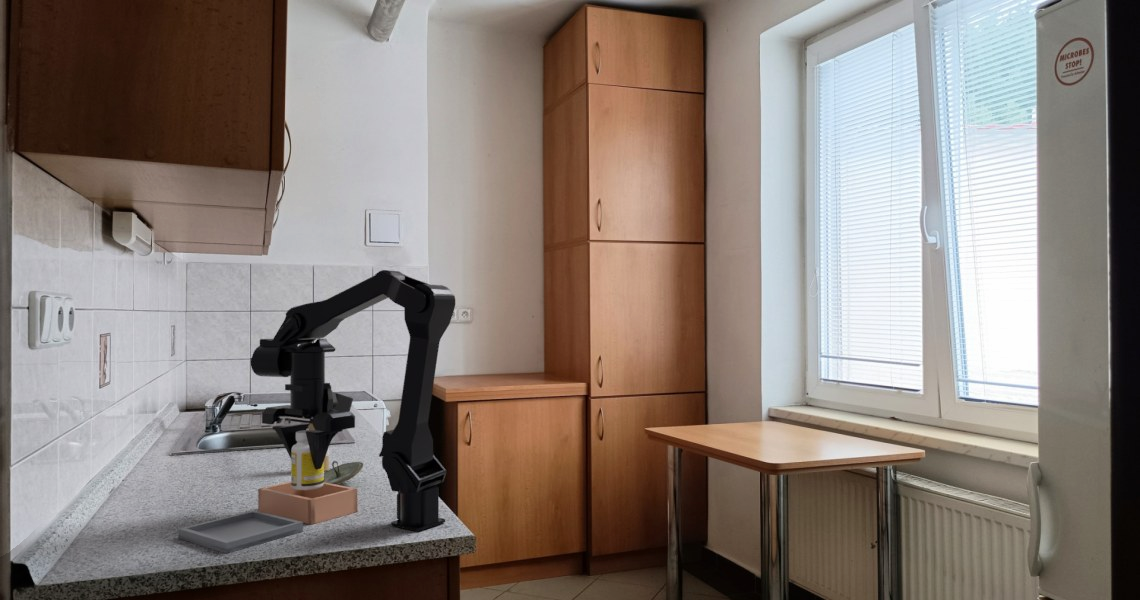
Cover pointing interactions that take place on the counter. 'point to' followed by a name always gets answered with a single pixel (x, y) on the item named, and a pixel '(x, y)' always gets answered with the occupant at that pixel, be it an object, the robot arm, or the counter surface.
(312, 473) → the supplement bottle
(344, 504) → the holder
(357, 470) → the lid
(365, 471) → the counter surface
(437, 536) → the counter surface
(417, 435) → the robot arm
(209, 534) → the tray
